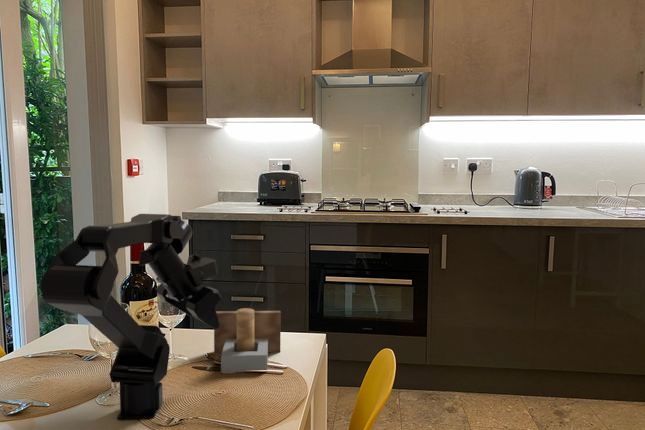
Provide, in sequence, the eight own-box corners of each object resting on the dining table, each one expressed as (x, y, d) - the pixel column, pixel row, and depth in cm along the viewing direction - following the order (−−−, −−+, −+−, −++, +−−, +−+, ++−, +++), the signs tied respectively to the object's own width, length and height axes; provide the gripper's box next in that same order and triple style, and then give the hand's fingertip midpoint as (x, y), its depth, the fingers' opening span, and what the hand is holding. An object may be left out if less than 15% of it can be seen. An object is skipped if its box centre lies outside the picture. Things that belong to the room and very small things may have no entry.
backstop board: (214, 353, 113) (214, 313, 112) (215, 350, 114) (214, 311, 113) (280, 352, 114) (280, 312, 113) (280, 349, 116) (280, 310, 115)
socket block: (221, 373, 102) (221, 355, 101) (226, 355, 112) (226, 339, 111) (266, 372, 103) (267, 355, 102) (267, 354, 113) (268, 338, 112)
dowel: (236, 367, 105) (235, 313, 104) (237, 360, 109) (237, 308, 108) (253, 367, 105) (253, 313, 104) (254, 359, 109) (254, 308, 108)
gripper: (222, 250, 92) (257, 307, 99) (179, 238, 106) (213, 289, 113) (177, 287, 86) (218, 344, 93) (139, 269, 100) (176, 321, 107)
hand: (206, 322), depth 102 cm, fingers open, 9 cm apart
